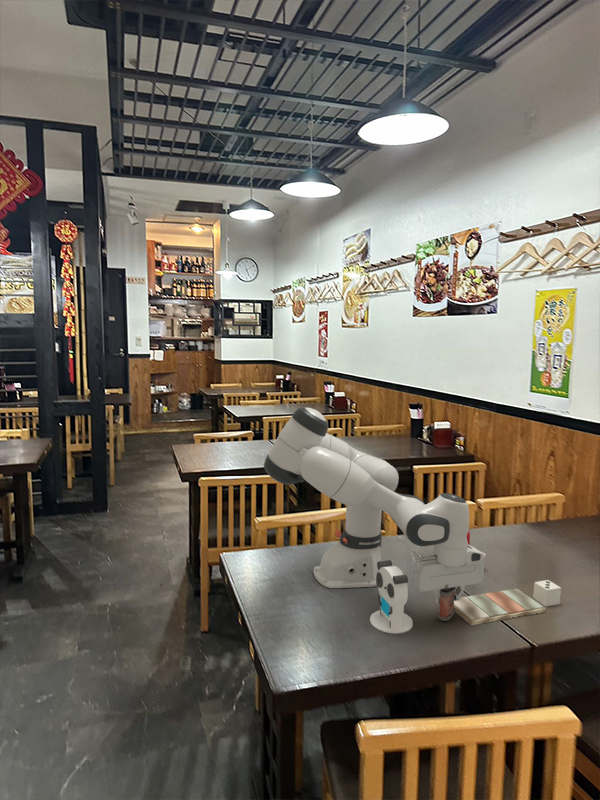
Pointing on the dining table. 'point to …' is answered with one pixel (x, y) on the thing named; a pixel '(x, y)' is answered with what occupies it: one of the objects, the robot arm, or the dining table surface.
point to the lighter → (446, 603)
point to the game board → (496, 606)
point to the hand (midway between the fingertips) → (447, 601)
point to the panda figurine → (391, 600)
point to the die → (547, 593)
